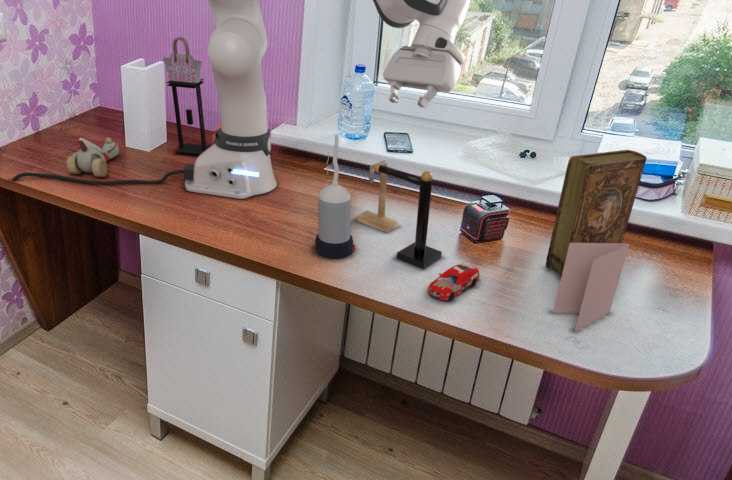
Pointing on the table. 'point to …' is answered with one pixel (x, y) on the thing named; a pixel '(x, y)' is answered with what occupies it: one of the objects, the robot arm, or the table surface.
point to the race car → (454, 282)
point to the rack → (418, 250)
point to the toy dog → (92, 158)
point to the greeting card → (590, 280)
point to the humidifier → (334, 218)
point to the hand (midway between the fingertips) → (406, 104)
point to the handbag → (188, 76)
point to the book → (595, 201)
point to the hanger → (373, 218)
